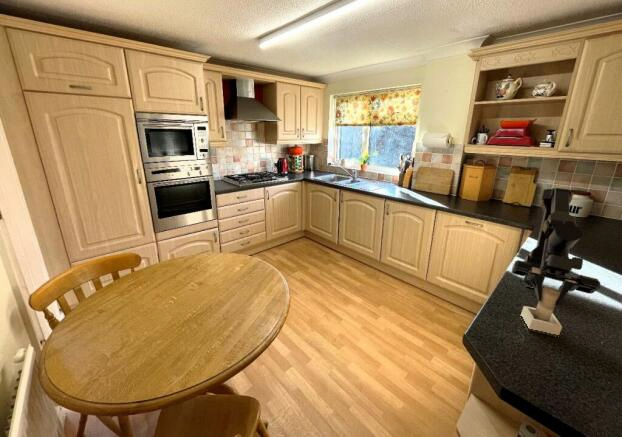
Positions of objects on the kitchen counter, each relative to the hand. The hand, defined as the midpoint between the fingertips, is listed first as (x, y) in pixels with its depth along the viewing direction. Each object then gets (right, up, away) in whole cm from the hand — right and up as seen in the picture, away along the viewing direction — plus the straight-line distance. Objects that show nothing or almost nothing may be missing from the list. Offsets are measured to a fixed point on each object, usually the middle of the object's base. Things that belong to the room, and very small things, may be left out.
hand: (548, 303), depth 76 cm
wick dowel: (+1, -6, +3) cm, 7 cm away
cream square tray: (0, -8, +4) cm, 9 cm away
